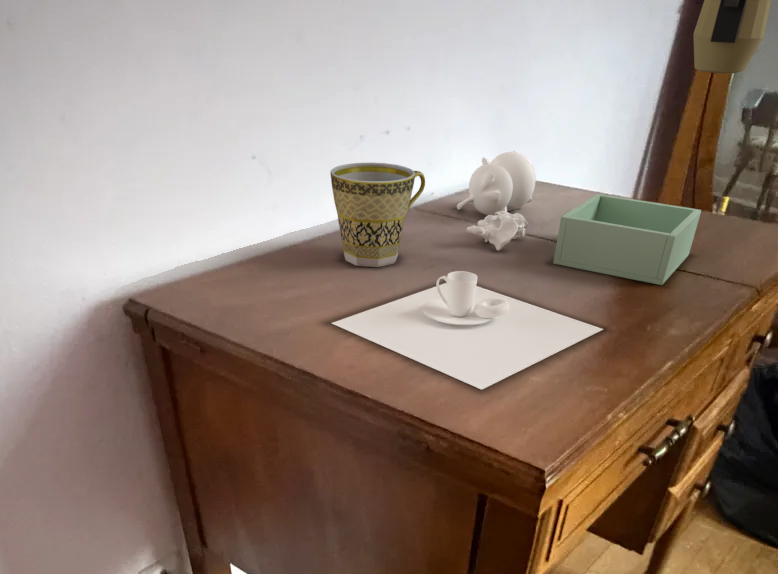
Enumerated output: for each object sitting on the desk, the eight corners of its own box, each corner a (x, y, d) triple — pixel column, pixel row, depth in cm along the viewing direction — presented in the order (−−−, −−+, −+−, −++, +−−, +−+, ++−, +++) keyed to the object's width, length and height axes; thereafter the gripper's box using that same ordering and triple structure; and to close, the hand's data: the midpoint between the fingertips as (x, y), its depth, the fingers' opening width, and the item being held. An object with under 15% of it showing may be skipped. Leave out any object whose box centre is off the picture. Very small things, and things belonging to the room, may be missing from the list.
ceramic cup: (362, 277, 85) (363, 185, 79) (316, 254, 91) (314, 168, 85) (445, 258, 91) (452, 171, 85) (397, 238, 97) (400, 156, 91)
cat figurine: (489, 149, 98) (534, 134, 105) (434, 183, 106) (479, 167, 113) (512, 212, 101) (554, 194, 108) (456, 241, 109) (499, 222, 116)
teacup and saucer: (518, 317, 76) (523, 279, 74) (469, 338, 72) (474, 298, 69) (455, 295, 81) (458, 258, 79) (406, 313, 77) (408, 274, 74)
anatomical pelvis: (488, 202, 98) (535, 205, 96) (487, 235, 101) (533, 238, 98) (465, 215, 93) (514, 218, 90) (464, 249, 95) (512, 253, 92)
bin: (688, 255, 94) (701, 209, 91) (661, 285, 85) (675, 236, 81) (588, 237, 100) (596, 193, 96) (552, 263, 90) (561, 216, 87)
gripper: (778, -210, 82) (716, 33, 96) (744, -247, 68) (677, 43, 82) (851, -216, 79) (776, 36, 93) (832, -256, 65) (747, 47, 79)
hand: (730, 39), depth 88 cm, fingers closed on squeeze bottle, 8 cm apart
